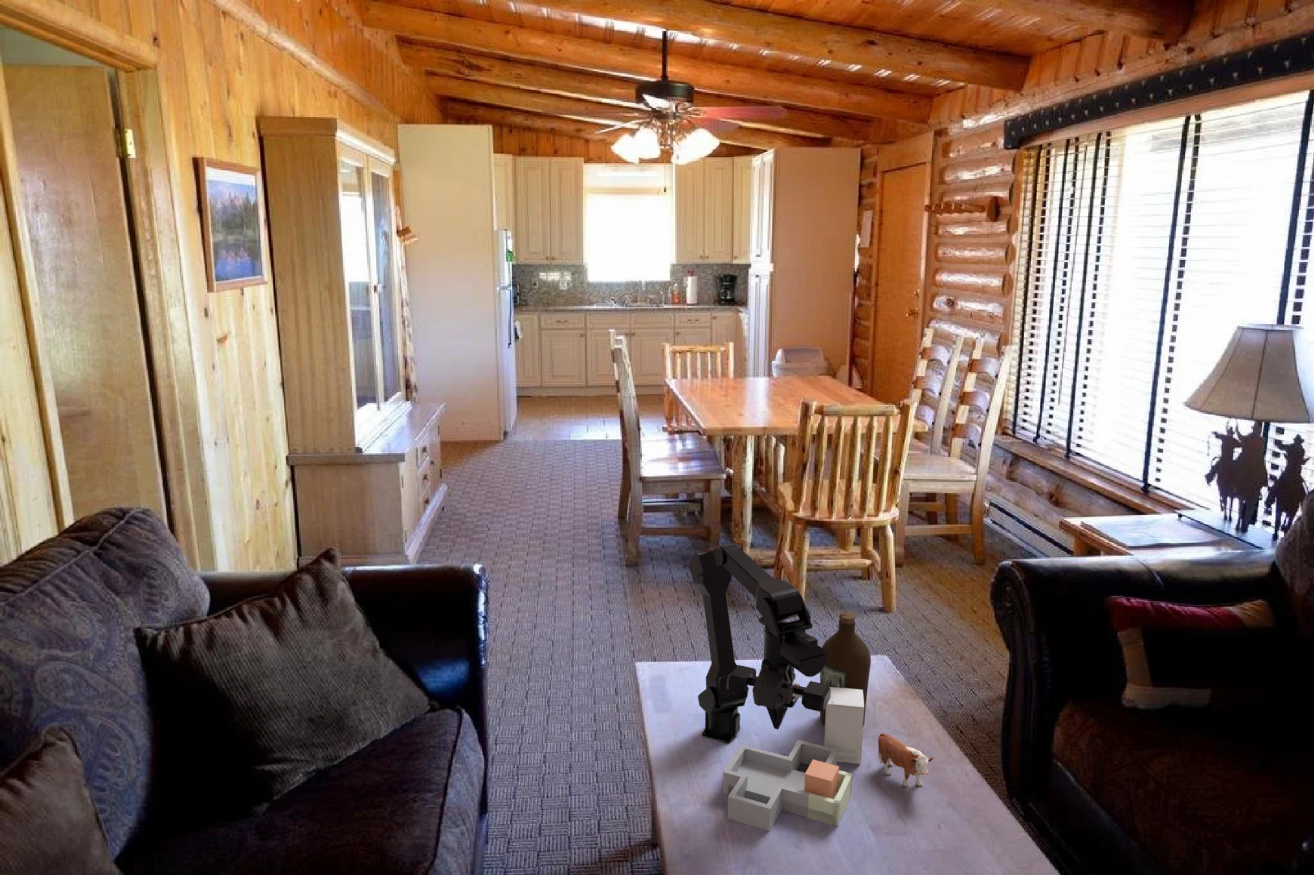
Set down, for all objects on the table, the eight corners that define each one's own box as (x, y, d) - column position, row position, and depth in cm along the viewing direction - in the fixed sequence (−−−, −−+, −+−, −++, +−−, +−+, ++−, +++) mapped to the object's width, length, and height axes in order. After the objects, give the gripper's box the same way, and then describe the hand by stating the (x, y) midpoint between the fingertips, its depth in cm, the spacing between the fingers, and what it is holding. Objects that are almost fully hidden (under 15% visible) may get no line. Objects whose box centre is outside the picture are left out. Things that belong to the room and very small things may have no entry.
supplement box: (861, 764, 174) (864, 707, 171) (823, 760, 175) (826, 703, 173) (860, 744, 181) (863, 688, 178) (824, 740, 183) (826, 685, 180)
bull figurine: (920, 803, 162) (923, 764, 161) (871, 764, 174) (873, 728, 172) (937, 796, 164) (940, 757, 163) (888, 758, 176) (890, 722, 174)
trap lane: (709, 813, 160) (710, 791, 159) (752, 747, 180) (753, 728, 179) (827, 849, 150) (829, 826, 149) (859, 775, 170) (860, 755, 169)
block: (804, 797, 161) (804, 773, 160) (811, 782, 165) (812, 759, 164) (830, 805, 159) (831, 781, 157) (837, 790, 163) (839, 766, 162)
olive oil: (840, 704, 196) (845, 600, 191) (877, 725, 188) (884, 617, 182) (806, 719, 190) (811, 613, 185) (843, 741, 182) (849, 631, 176)
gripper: (716, 660, 159) (715, 737, 162) (816, 683, 151) (813, 763, 154) (738, 636, 168) (736, 708, 172) (833, 655, 160) (829, 731, 164)
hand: (776, 728), depth 165 cm, fingers closed
